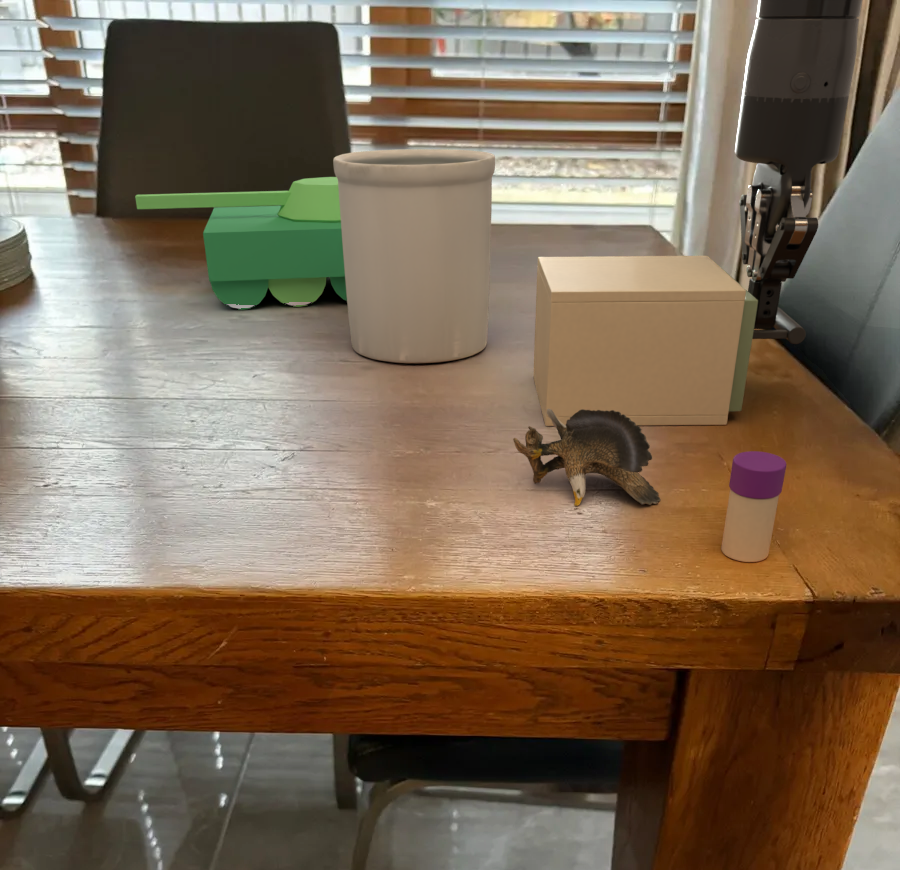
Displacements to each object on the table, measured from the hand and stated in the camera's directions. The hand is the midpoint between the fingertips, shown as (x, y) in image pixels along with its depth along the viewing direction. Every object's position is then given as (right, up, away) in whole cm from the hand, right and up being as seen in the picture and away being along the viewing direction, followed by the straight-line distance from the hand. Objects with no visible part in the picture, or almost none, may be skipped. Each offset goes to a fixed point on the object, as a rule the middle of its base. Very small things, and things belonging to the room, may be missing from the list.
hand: (758, 326), depth 81 cm
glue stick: (-7, -20, -21) cm, 30 cm away
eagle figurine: (-16, -16, -13) cm, 26 cm away
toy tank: (-44, +15, +38) cm, 60 cm away
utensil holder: (-29, +3, +18) cm, 34 cm away
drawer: (-6, -5, +3) cm, 8 cm away
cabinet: (-11, -5, +3) cm, 12 cm away
